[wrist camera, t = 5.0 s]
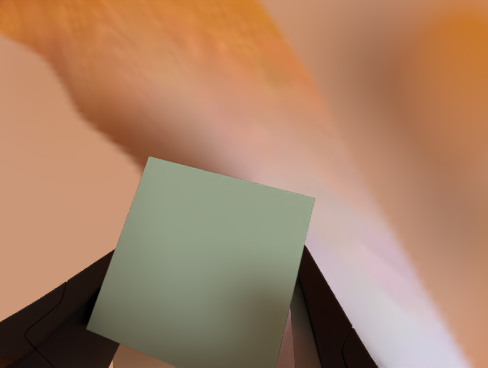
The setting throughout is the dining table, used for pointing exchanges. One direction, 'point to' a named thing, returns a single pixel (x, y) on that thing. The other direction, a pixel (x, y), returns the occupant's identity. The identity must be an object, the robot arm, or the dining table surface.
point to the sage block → (203, 269)
